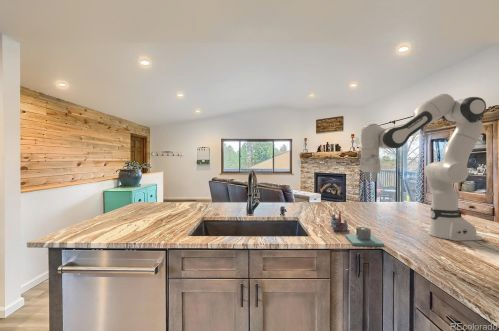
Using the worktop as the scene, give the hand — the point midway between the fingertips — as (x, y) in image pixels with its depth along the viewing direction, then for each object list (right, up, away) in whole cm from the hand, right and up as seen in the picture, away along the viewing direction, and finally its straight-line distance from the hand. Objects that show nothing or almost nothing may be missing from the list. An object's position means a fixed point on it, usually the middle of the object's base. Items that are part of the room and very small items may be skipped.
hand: (370, 180), depth 138 cm
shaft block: (-8, -29, -10) cm, 32 cm away
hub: (-8, -28, -10) cm, 31 cm away
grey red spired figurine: (-12, -29, +12) cm, 34 cm away
